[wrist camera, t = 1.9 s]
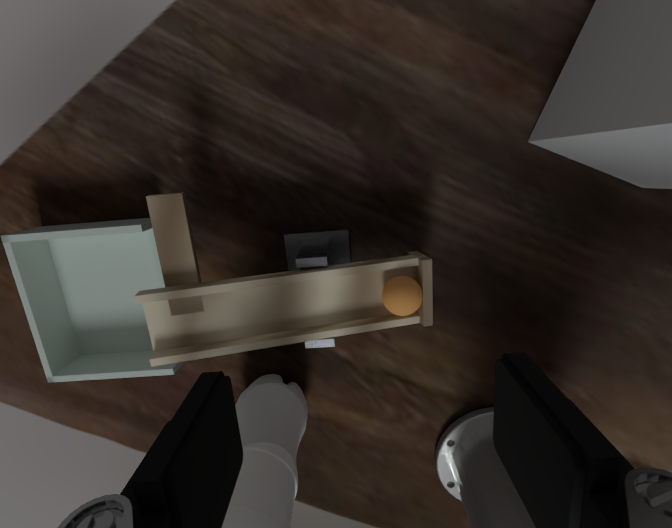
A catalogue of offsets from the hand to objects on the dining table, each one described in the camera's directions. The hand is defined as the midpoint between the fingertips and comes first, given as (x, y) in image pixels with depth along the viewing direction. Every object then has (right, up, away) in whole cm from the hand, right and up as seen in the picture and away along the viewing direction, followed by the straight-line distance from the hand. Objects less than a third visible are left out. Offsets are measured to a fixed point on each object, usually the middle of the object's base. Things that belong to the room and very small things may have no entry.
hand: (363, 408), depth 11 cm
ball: (+4, +2, +19) cm, 20 cm away
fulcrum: (-2, +3, +26) cm, 26 cm away
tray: (-22, +2, +27) cm, 35 cm away
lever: (-5, +4, +20) cm, 21 cm away
